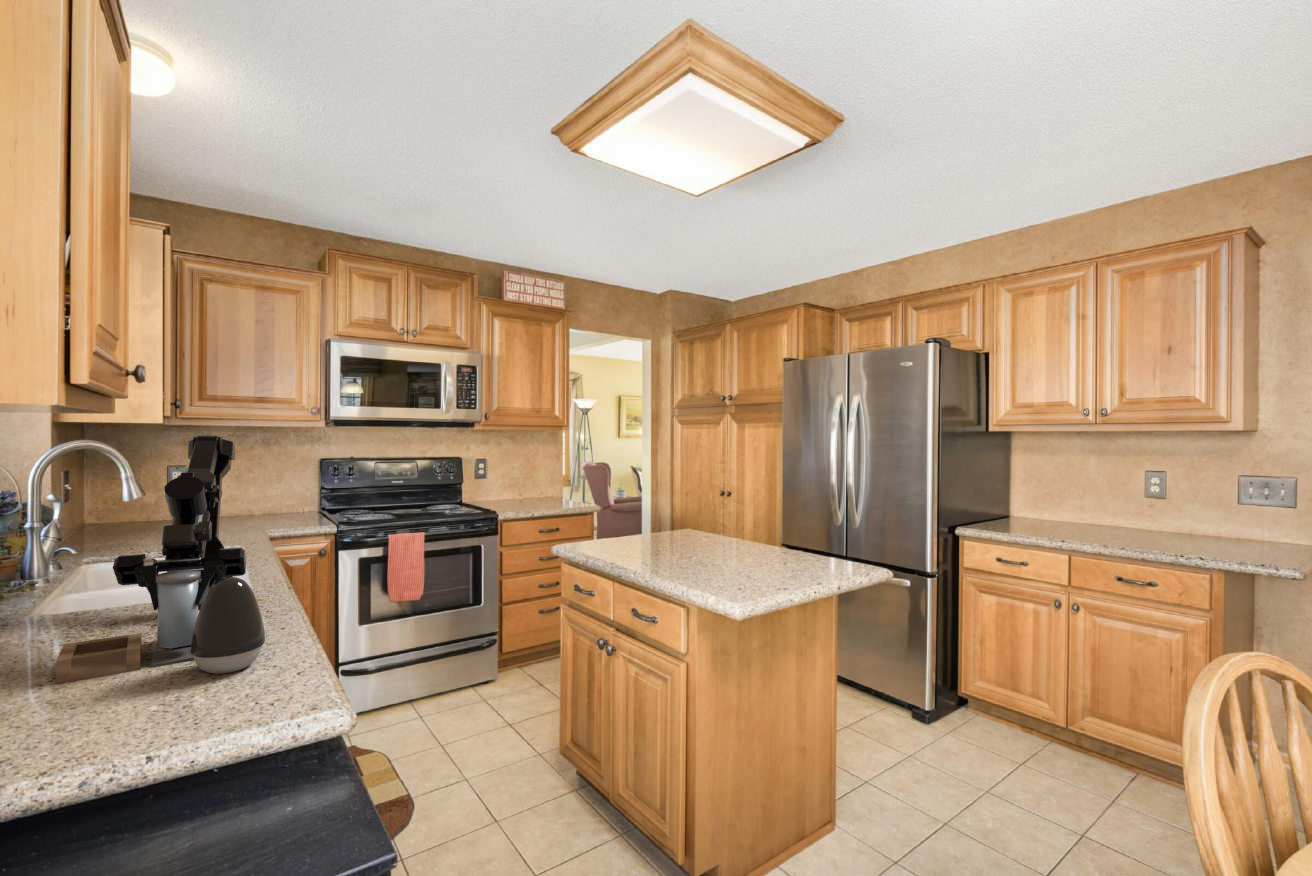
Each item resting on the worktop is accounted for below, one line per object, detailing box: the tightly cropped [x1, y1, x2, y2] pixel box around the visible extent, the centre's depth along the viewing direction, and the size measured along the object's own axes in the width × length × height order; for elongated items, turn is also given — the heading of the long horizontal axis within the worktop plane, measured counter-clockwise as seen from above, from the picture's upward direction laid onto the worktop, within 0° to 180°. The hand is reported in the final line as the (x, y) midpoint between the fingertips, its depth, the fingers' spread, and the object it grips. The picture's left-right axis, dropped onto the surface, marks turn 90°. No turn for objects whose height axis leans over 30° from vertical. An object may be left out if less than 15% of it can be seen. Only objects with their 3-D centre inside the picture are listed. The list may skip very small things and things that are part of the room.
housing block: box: [55, 632, 142, 685], centre depth 103 cm, size 10×10×4 cm
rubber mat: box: [151, 646, 195, 668], centre depth 108 cm, size 7×7×1 cm
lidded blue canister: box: [156, 570, 201, 649], centre depth 108 cm, size 6×6×12 cm
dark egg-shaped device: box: [190, 576, 266, 675], centre depth 103 cm, size 10×10×15 cm
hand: (176, 606), depth 107 cm, fingers closed on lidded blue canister, 6 cm apart
